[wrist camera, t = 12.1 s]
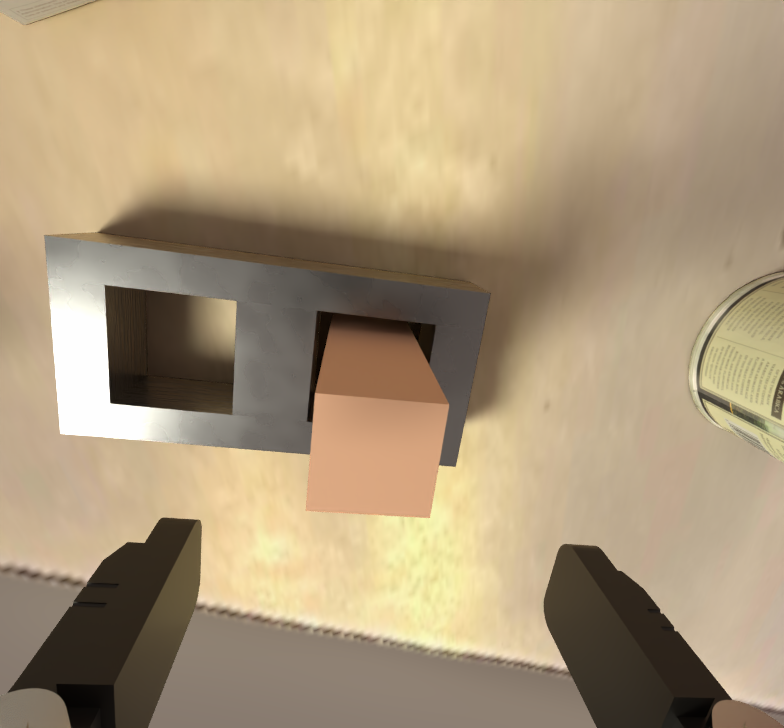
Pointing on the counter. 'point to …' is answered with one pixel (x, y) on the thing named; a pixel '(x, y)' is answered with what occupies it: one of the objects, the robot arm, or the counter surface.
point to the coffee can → (744, 365)
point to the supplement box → (37, 8)
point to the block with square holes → (252, 342)
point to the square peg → (375, 422)
